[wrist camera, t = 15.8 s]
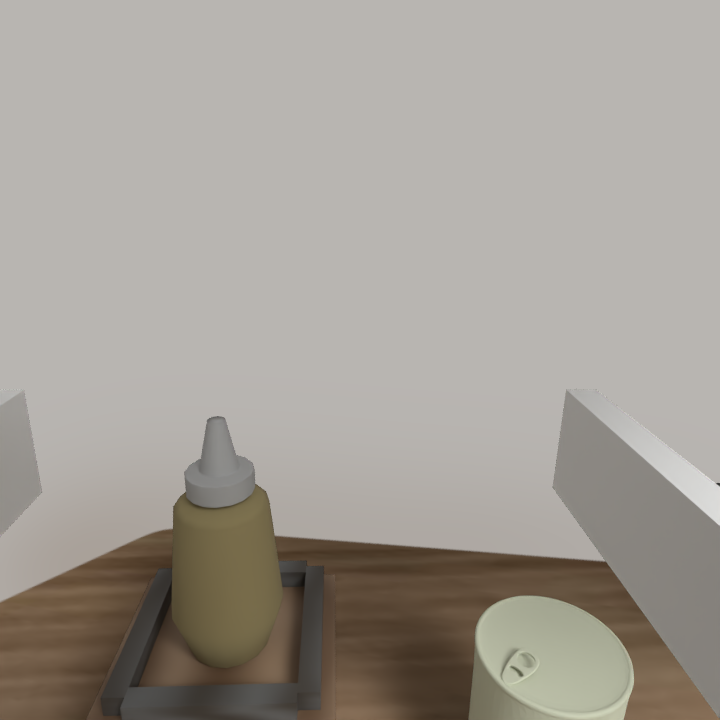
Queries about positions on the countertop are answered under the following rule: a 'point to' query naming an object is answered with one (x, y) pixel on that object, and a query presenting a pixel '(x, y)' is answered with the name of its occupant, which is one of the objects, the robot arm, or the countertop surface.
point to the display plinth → (235, 684)
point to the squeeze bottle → (224, 556)
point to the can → (547, 664)
